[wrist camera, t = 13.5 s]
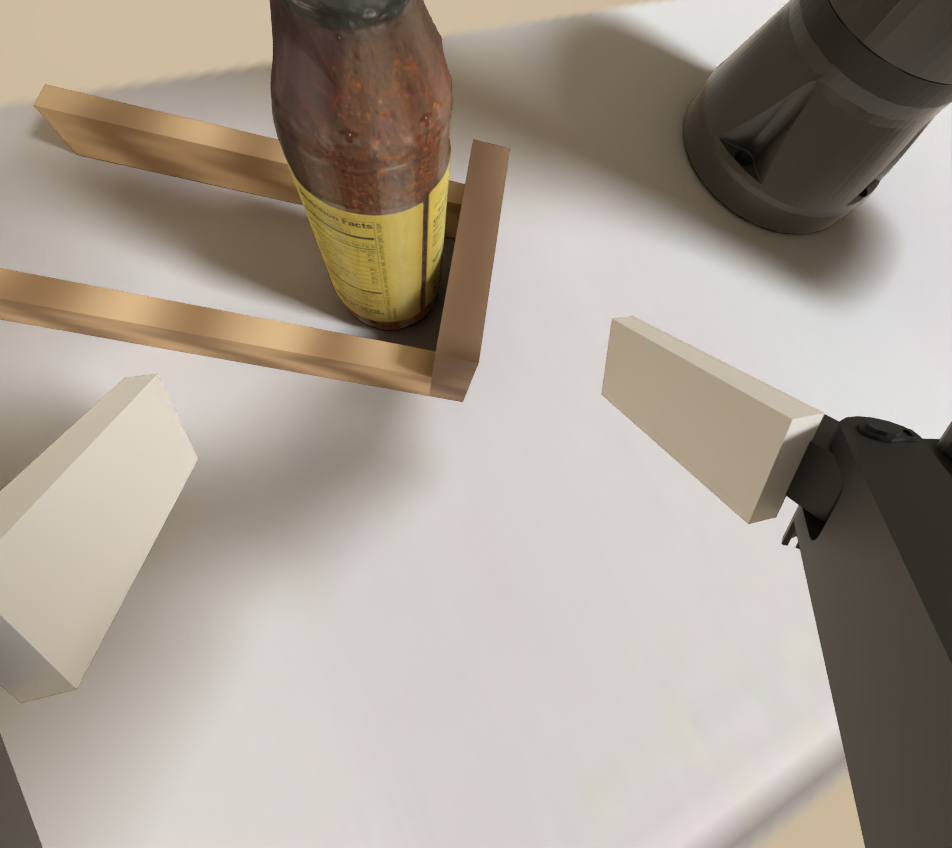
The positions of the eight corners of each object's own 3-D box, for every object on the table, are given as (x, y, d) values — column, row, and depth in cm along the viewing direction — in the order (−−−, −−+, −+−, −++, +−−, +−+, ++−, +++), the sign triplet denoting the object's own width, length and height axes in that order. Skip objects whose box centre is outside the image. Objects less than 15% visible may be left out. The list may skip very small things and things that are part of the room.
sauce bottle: (395, 229, 27) (359, -496, 8) (459, 298, 26) (586, -301, 7) (309, 283, 25) (-3, -487, 6) (376, 359, 25) (265, -228, 6)
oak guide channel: (489, 226, 28) (509, 148, 22) (462, 401, 25) (478, 362, 19) (86, 135, 25) (-9, 18, 20) (-6, 318, 22) (-152, 242, 16)
